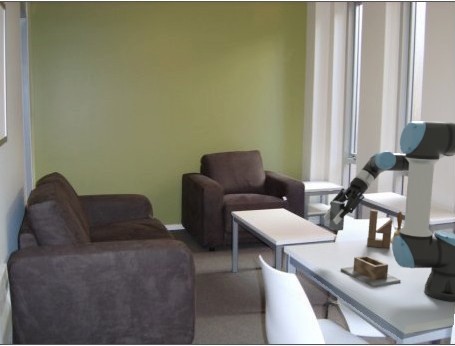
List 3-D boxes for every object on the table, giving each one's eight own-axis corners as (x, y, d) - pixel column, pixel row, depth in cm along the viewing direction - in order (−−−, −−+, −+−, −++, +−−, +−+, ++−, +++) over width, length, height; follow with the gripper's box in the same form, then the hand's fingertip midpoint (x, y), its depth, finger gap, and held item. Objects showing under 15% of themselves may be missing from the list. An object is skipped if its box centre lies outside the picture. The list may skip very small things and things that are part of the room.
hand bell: (402, 245, 261) (404, 214, 258) (386, 242, 266) (389, 211, 264) (409, 242, 267) (412, 212, 264) (394, 239, 272) (396, 209, 270)
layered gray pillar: (343, 230, 230) (344, 203, 228) (337, 230, 228) (339, 203, 227) (334, 226, 235) (336, 200, 233) (329, 227, 234) (330, 201, 232)
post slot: (400, 282, 209) (401, 266, 208) (373, 286, 203) (374, 270, 202) (366, 266, 227) (367, 252, 226) (340, 270, 220) (341, 255, 219)
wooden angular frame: (389, 248, 255) (393, 212, 252) (367, 246, 257) (370, 210, 255) (389, 246, 259) (392, 210, 256) (366, 244, 261) (369, 209, 258)
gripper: (380, 191, 228) (348, 231, 223) (351, 184, 244) (321, 221, 239) (372, 180, 225) (339, 220, 220) (343, 173, 241) (312, 210, 236)
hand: (330, 220), depth 229 cm, fingers closed on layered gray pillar, 6 cm apart
